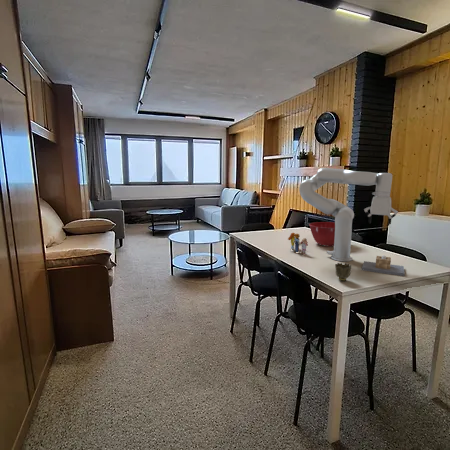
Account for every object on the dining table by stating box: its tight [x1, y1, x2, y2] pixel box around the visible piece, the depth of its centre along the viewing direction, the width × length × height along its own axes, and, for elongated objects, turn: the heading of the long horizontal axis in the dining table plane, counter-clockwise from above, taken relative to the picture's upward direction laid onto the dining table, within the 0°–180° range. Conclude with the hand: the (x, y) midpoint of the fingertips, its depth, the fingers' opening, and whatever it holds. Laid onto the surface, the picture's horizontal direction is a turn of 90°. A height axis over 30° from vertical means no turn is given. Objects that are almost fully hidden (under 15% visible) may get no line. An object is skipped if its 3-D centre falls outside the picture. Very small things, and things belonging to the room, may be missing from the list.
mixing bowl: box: [308, 221, 335, 247], centre depth 219 cm, size 28×28×15 cm
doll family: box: [287, 232, 309, 255], centre depth 198 cm, size 21×10×13 cm, turn 7°
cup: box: [334, 262, 352, 282], centre depth 143 cm, size 8×7×8 cm
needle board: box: [361, 255, 405, 277], centre depth 160 cm, size 20×14×8 cm
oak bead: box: [375, 255, 392, 269], centre depth 160 cm, size 7×7×5 cm
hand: (379, 224), depth 168 cm, fingers open, 9 cm apart
